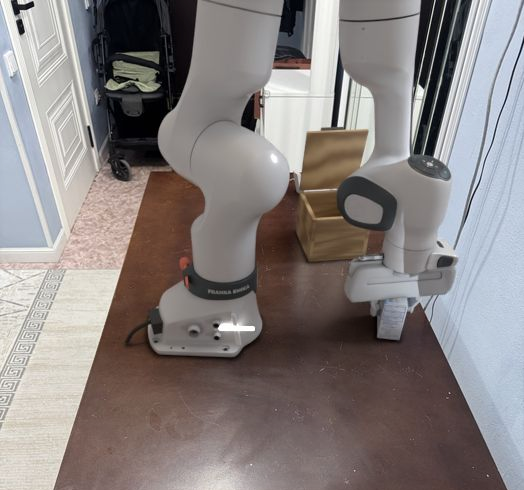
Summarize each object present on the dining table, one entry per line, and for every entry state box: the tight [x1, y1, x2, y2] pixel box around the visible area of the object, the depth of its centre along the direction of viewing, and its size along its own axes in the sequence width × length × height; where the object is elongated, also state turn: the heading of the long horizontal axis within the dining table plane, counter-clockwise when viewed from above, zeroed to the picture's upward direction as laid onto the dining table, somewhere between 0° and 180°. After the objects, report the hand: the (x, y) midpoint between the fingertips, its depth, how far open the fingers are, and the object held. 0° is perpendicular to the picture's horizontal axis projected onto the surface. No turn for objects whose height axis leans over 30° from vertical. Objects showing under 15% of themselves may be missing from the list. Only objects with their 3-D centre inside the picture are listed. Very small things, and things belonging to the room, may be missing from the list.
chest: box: [296, 189, 371, 263], centre depth 118 cm, size 14×14×11 cm
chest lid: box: [299, 126, 370, 191], centre depth 114 cm, size 15×14×5 cm
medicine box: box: [376, 297, 409, 341], centre depth 96 cm, size 8×4×9 cm, turn 170°
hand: (391, 312), depth 97 cm, fingers closed on medicine box, 5 cm apart
